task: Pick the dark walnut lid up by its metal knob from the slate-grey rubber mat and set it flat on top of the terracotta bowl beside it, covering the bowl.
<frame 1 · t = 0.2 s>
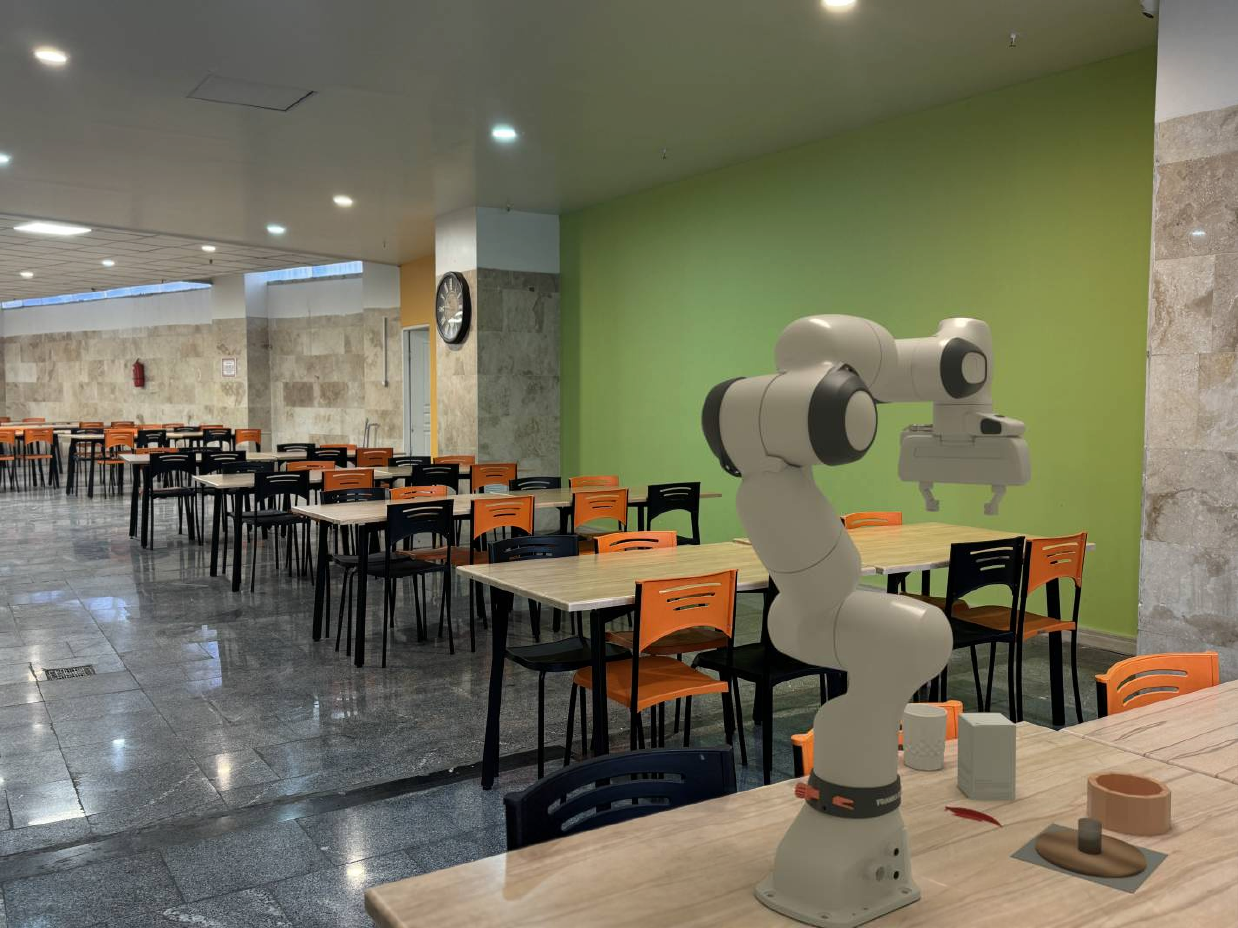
hand: (961, 513, 154), 47 cm above the table, fingers open, 8 cm apart
bowl: (1127, 822, 152), on the table
red feather: (972, 823, 154), on the table
white cup: (923, 765, 178), on the table
mat: (1089, 857, 140), on the table
supplement box: (985, 794, 164), on the table
lid: (1089, 855, 140), resting on mat
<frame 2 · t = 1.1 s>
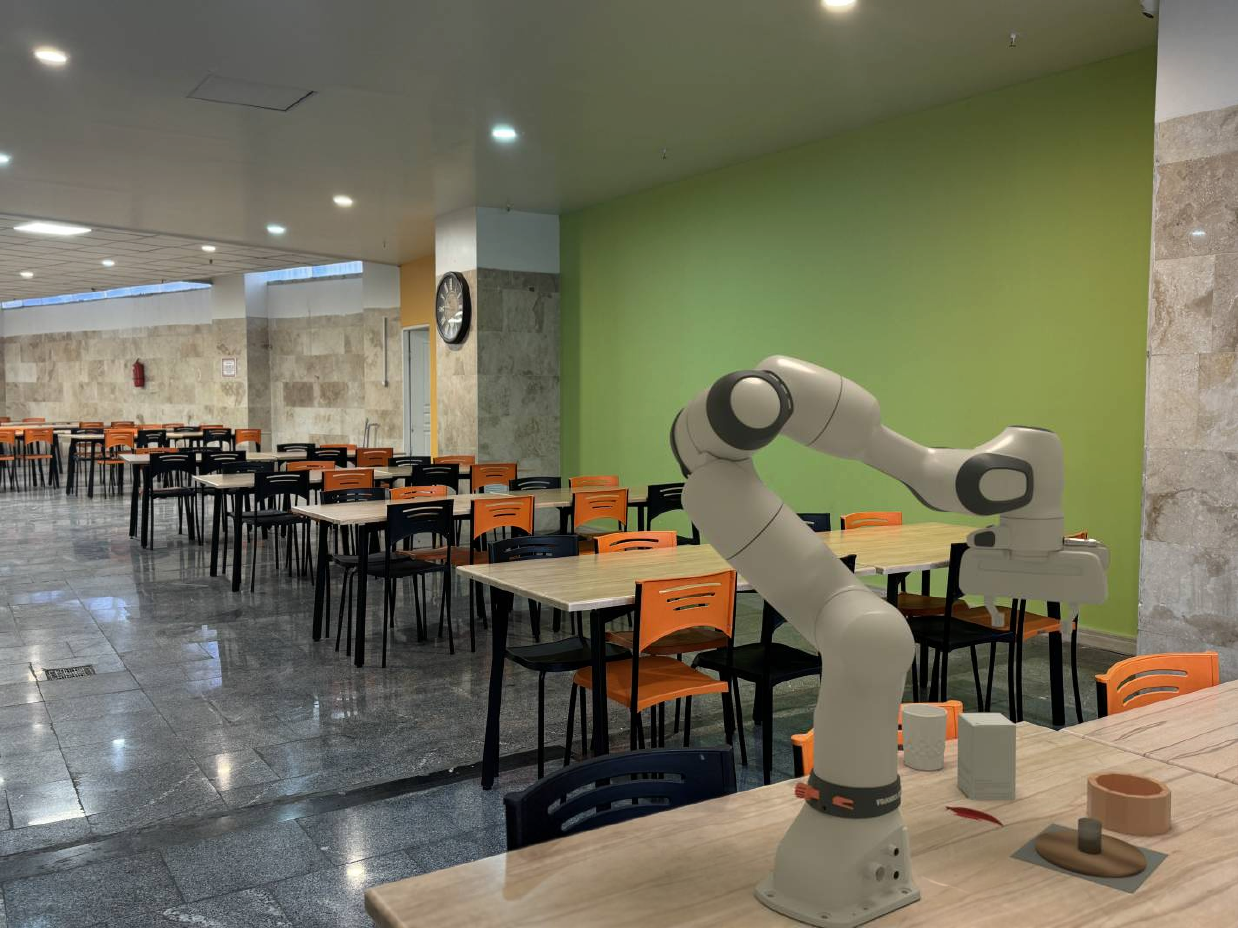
hand: (1031, 629, 146), 31 cm above the table, fingers open, 8 cm apart
nothing on the table moved.
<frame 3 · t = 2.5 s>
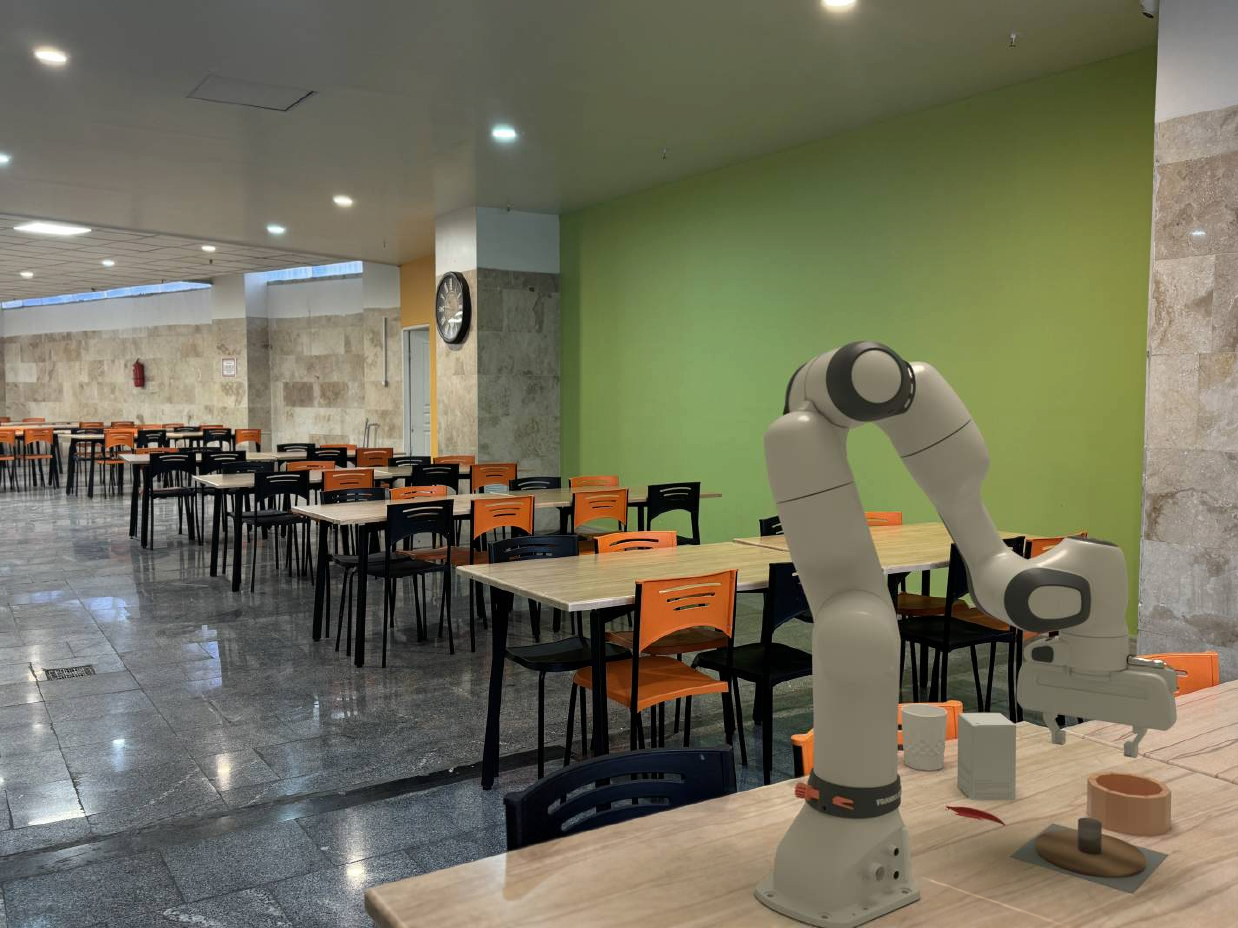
hand: (1094, 749, 139), 15 cm above the table, fingers open, 8 cm apart
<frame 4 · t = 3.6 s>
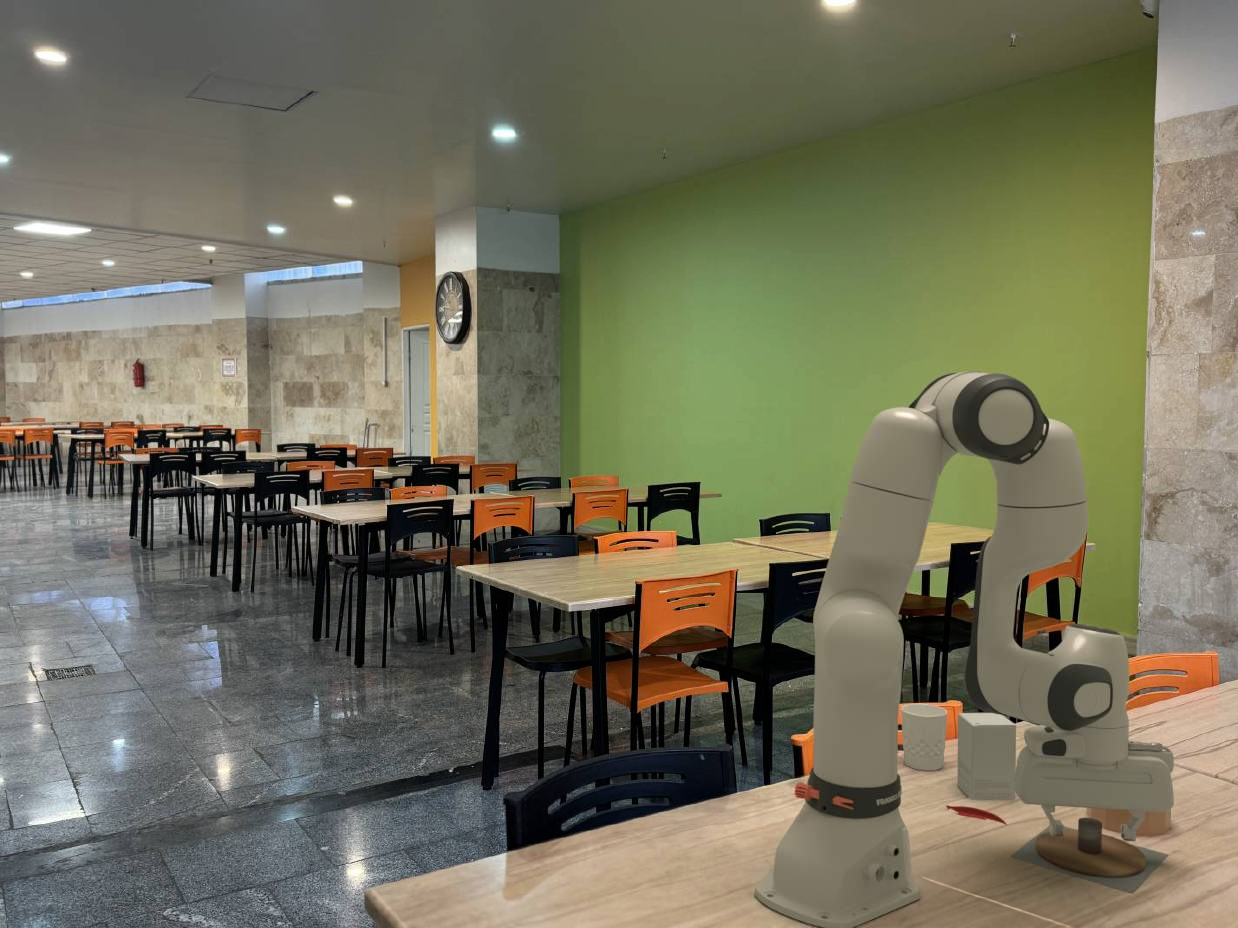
hand: (1092, 836, 139), 3 cm above the table, fingers open, 8 cm apart
nothing on the table moved.
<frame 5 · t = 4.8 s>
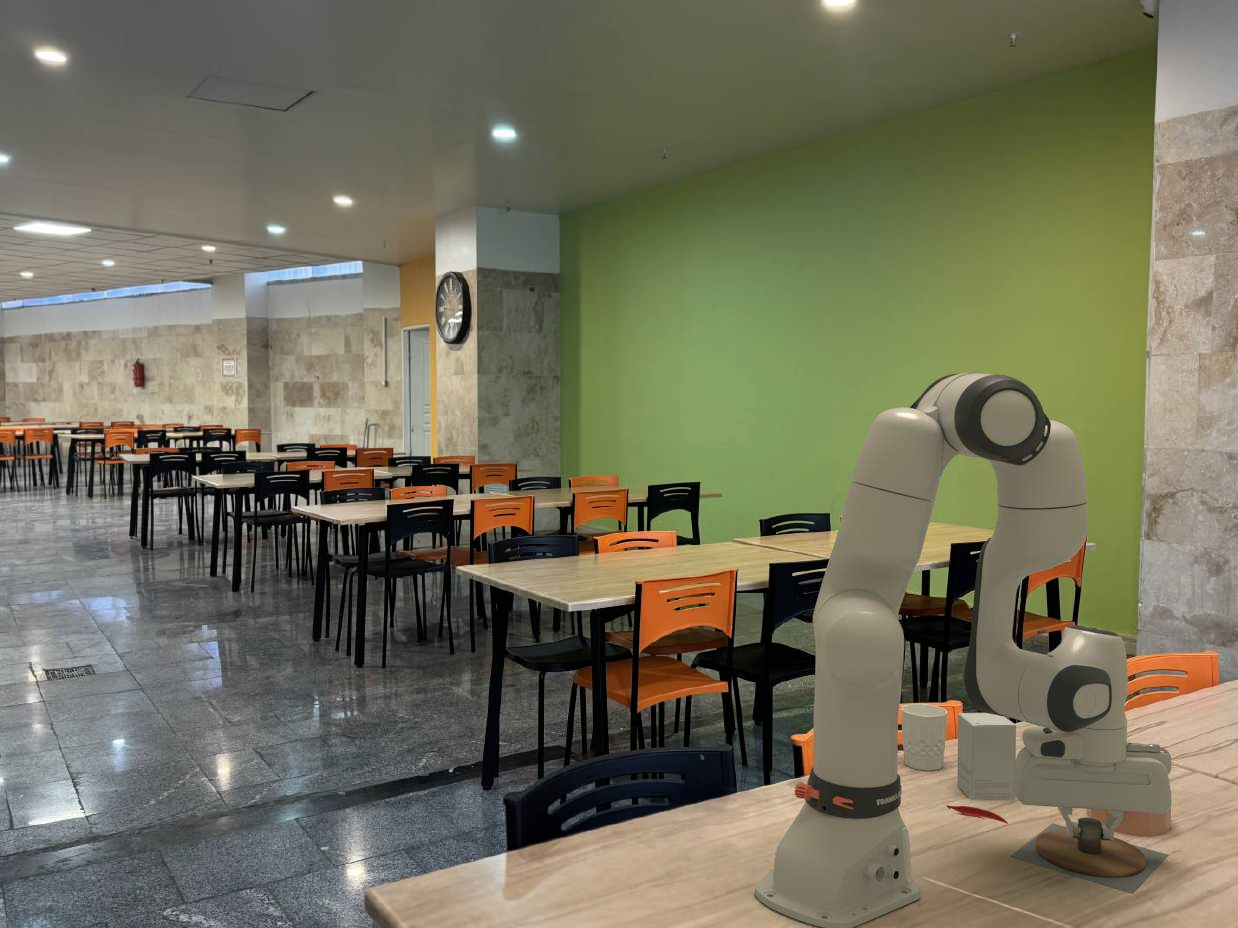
hand: (1089, 837, 140), 3 cm above the table, fingers closed on lid, 3 cm apart
lid: (1089, 855, 140), resting on mat, touching gripper
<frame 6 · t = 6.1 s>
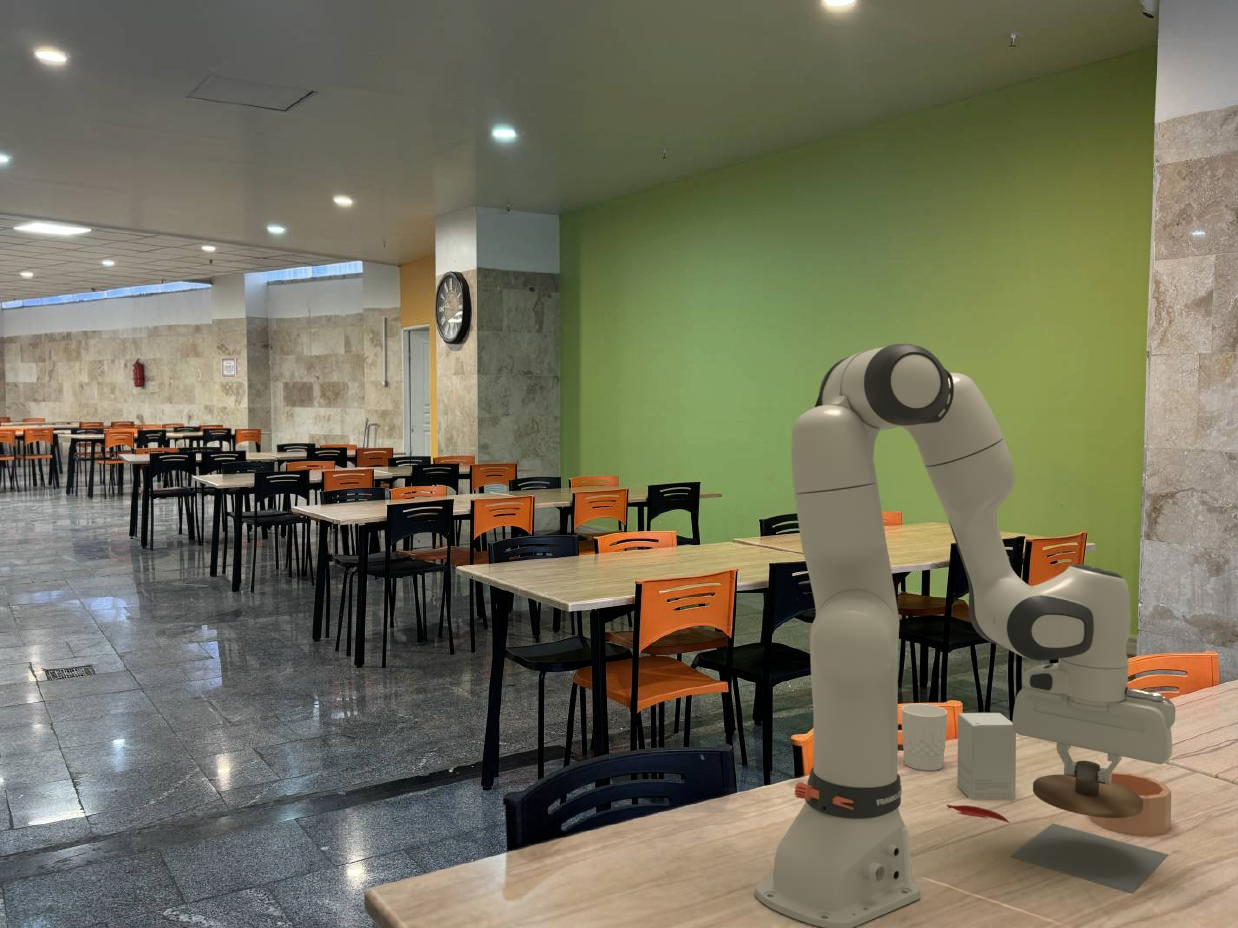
hand: (1087, 779, 139), 11 cm above the table, fingers closed on lid, 3 cm apart
lid: (1086, 797, 139), point 9 cm above the table, touching gripper
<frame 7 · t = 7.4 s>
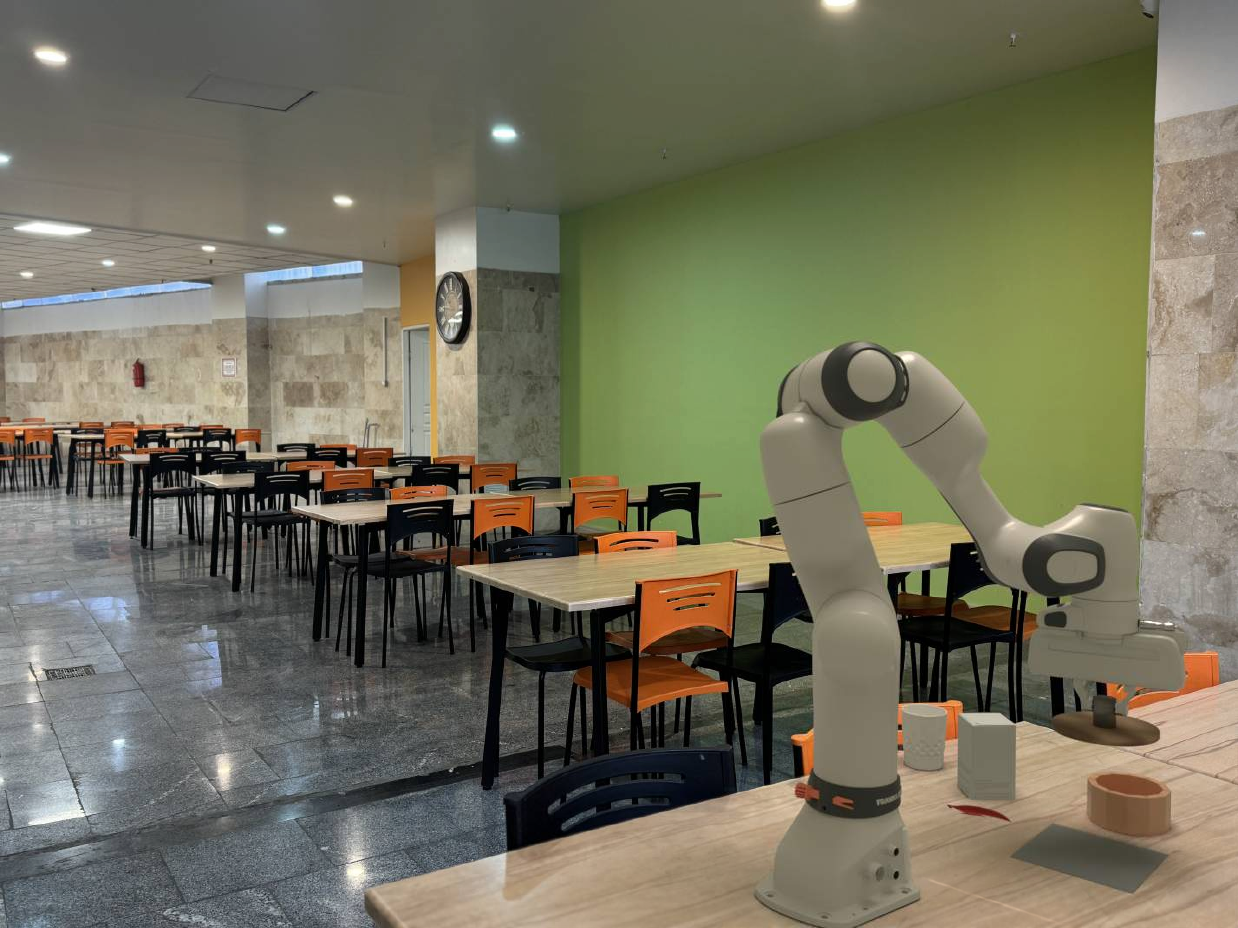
hand: (1104, 712, 142), 20 cm above the table, fingers closed on lid, 3 cm apart
lid: (1104, 730, 142), point 17 cm above the table, touching gripper
when the fingers open (10 cm above the table, at t = 10.1 s): lid drops 1 cm, resting on bowl.
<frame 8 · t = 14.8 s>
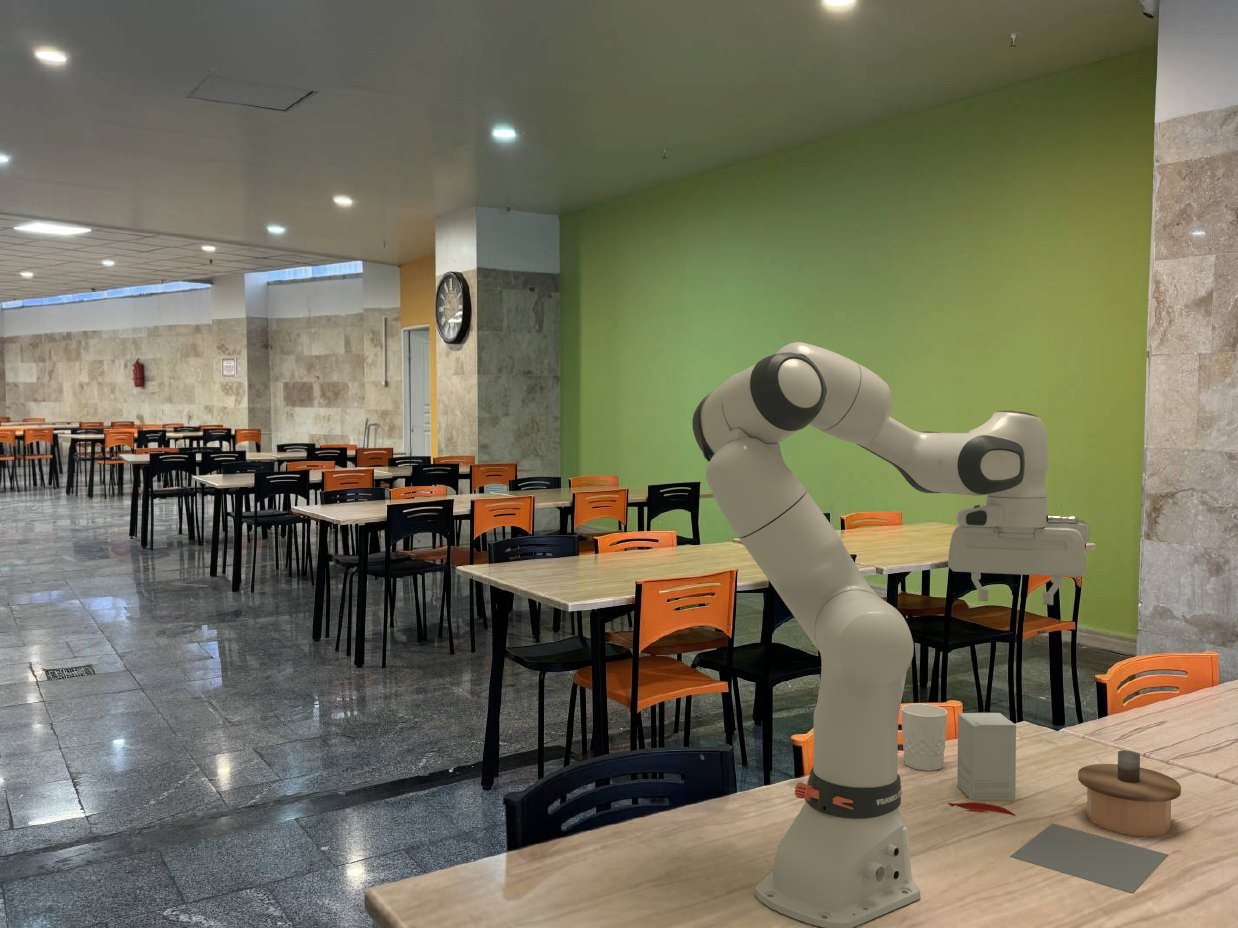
hand: (1015, 602, 156), 33 cm above the table, fingers open, 8 cm apart
red feather: (982, 816, 157), on the table
lid: (1128, 784, 152), point 6 cm above the table, touching bowl
everything else where it was.
at the end: lid 0.1 cm off-centre on the bowl, point 6.0 cm above the bowl's base; lid tilted 0°; the gripper is holding nothing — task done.
